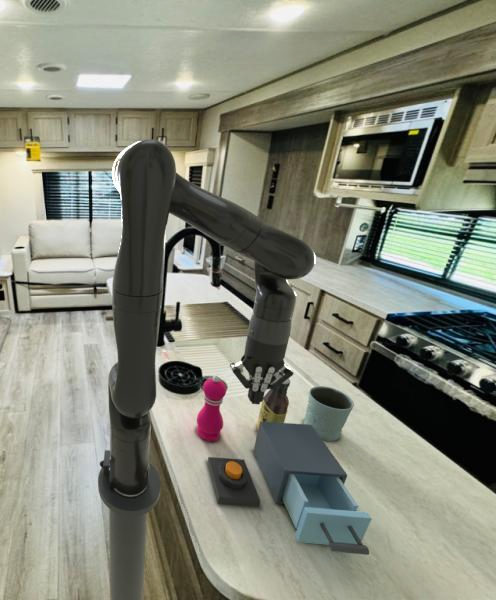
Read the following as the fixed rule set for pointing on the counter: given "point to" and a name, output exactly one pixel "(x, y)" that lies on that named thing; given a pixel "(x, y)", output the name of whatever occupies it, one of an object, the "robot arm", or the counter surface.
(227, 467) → the button
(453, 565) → the counter surface
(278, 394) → the sauce bottle
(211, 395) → the pepper mill
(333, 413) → the embossed plant pot
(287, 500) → the light blue drawer
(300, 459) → the grey drawer cabinet
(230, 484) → the block
